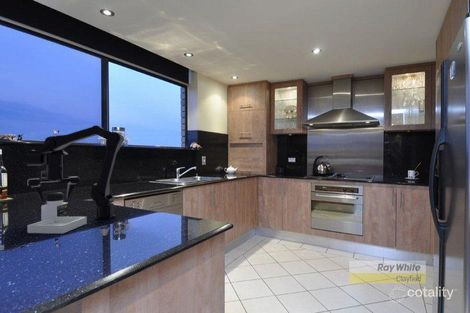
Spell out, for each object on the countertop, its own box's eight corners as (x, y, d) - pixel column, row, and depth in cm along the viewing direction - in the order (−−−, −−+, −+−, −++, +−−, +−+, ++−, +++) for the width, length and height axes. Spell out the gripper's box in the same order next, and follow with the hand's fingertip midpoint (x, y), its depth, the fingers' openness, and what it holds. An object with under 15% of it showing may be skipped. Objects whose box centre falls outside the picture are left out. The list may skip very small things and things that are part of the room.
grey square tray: (86, 223, 107) (86, 216, 107) (63, 233, 94) (63, 225, 94) (55, 223, 108) (55, 216, 108) (27, 232, 95) (27, 225, 95)
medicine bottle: (57, 222, 110) (57, 194, 110) (40, 222, 110) (40, 194, 110) (68, 218, 117) (68, 191, 117) (53, 218, 117) (52, 191, 117)
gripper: (75, 164, 126) (75, 196, 126) (26, 165, 113) (26, 201, 113) (80, 164, 117) (80, 199, 118) (28, 166, 105) (28, 204, 105)
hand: (55, 200), depth 114 cm, fingers open, 9 cm apart
